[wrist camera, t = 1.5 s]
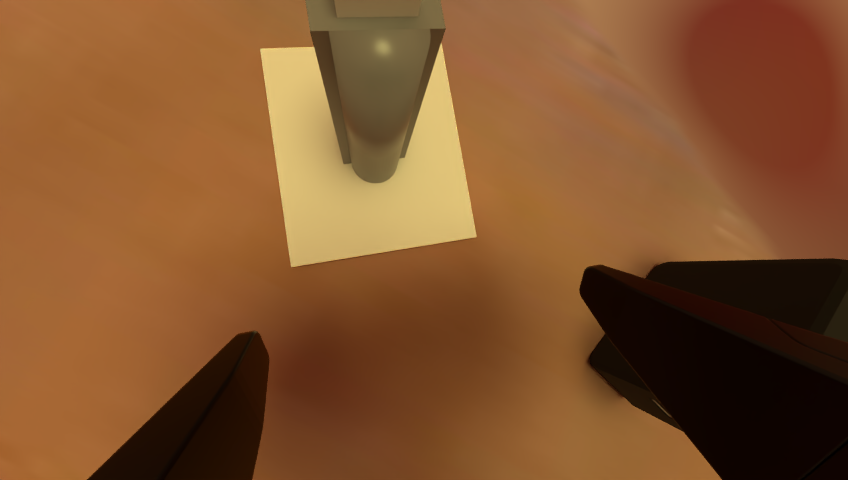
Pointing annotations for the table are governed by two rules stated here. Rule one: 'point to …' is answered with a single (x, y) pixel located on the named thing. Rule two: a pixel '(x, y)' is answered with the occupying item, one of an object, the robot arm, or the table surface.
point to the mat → (343, 189)
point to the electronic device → (743, 307)
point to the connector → (375, 74)
